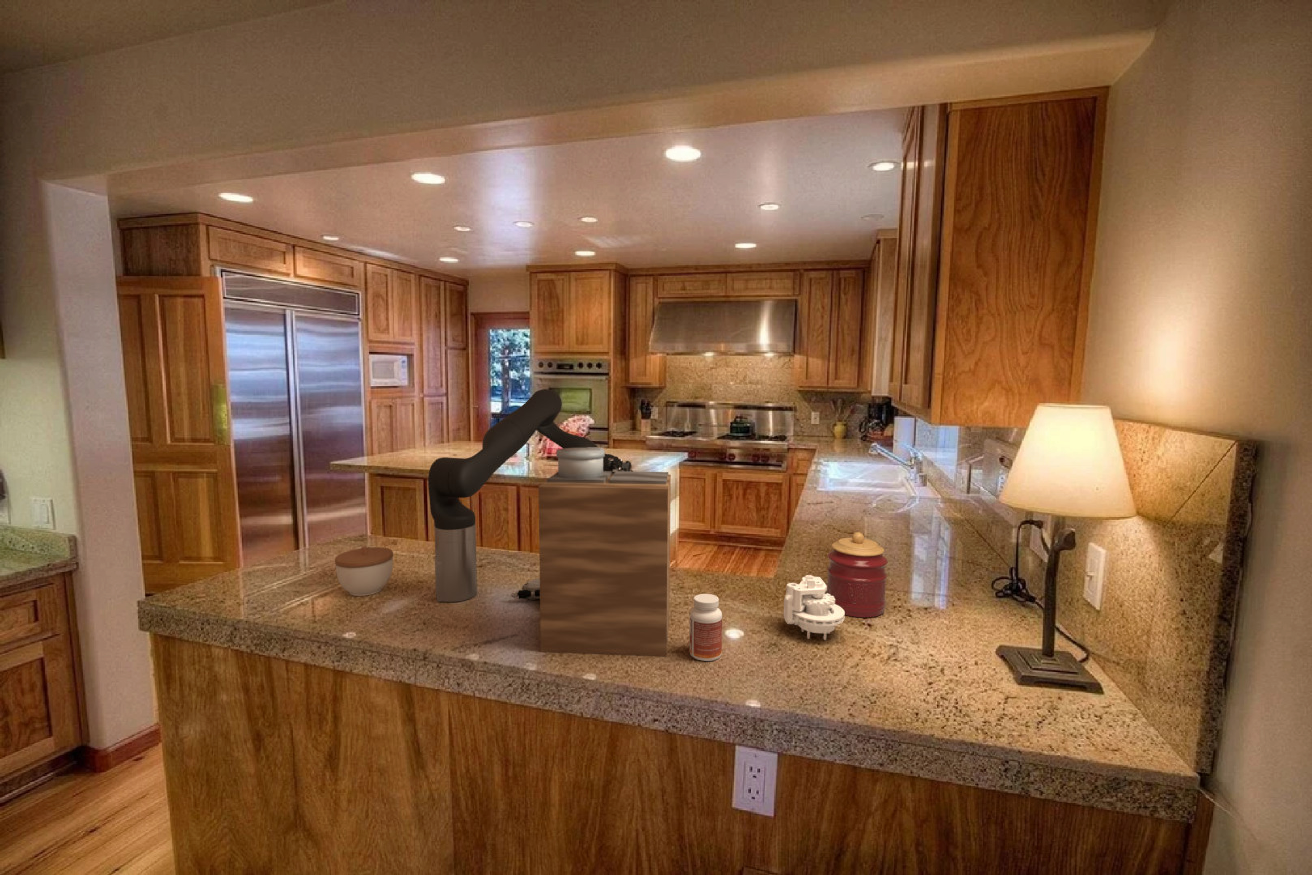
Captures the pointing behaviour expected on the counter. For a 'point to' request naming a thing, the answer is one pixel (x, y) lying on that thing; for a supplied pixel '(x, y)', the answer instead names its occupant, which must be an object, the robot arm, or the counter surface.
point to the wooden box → (605, 563)
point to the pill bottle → (705, 628)
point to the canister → (857, 576)
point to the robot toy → (529, 590)
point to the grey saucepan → (580, 462)
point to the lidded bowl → (364, 570)
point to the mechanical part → (811, 606)
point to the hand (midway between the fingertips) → (597, 457)
